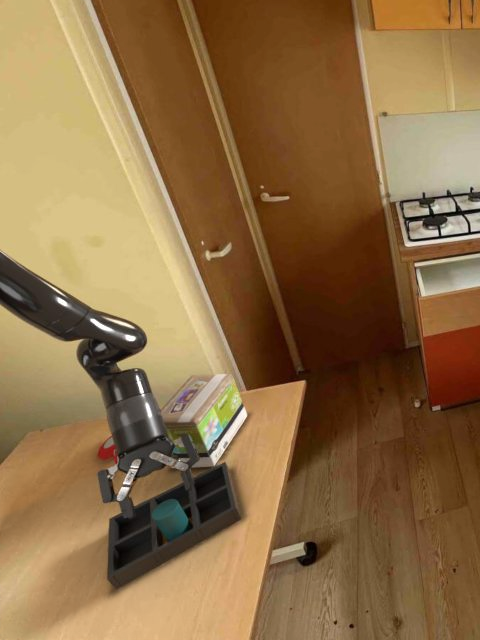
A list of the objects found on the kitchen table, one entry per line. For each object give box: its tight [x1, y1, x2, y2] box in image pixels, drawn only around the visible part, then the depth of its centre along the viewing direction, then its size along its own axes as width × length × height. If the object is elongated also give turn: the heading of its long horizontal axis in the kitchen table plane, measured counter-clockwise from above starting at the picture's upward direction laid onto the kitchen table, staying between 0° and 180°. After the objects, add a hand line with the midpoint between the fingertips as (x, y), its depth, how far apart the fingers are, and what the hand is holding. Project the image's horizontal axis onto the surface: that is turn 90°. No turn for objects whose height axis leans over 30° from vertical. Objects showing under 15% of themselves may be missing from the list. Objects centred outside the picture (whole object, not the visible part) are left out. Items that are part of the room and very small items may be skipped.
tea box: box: [160, 373, 248, 469], centre depth 99 cm, size 15×10×15 cm
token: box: [152, 499, 193, 542], centre depth 81 cm, size 4×4×8 cm
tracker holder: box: [97, 435, 119, 466], centre depth 100 cm, size 12×4×10 cm
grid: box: [106, 461, 242, 590], centre depth 84 cm, size 20×13×4 cm
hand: (162, 504), depth 79 cm, fingers open, 8 cm apart
